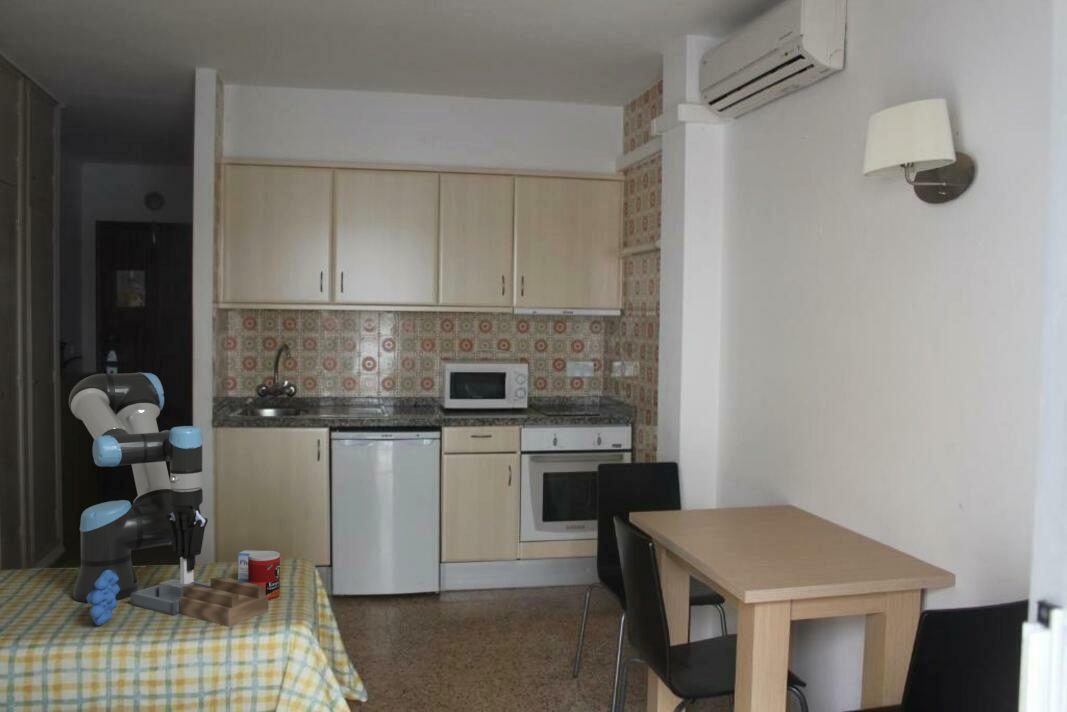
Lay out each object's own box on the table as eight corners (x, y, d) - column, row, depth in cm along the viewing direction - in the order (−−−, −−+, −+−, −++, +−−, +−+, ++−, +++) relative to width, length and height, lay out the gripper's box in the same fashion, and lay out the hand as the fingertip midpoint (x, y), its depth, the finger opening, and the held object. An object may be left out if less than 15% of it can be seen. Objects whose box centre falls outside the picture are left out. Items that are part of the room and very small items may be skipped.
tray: (130, 604, 211) (130, 592, 211) (182, 589, 224) (182, 577, 224) (173, 615, 203) (173, 603, 203) (223, 598, 216) (223, 587, 216)
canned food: (271, 602, 214) (270, 559, 213) (242, 600, 215) (242, 557, 215) (285, 593, 221) (285, 551, 221) (257, 591, 223) (257, 549, 222)
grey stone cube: (169, 601, 212) (159, 598, 214) (183, 596, 216) (172, 594, 218) (169, 585, 212) (159, 582, 214) (183, 581, 216) (172, 578, 218)
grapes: (97, 614, 204) (96, 564, 204) (126, 613, 204) (125, 564, 204) (74, 631, 192) (74, 578, 192) (105, 630, 193) (104, 578, 192)
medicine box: (237, 584, 228) (237, 553, 228) (246, 580, 233) (246, 548, 232) (264, 587, 227) (263, 554, 226) (272, 582, 231) (272, 550, 231)
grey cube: (169, 601, 212) (169, 585, 212) (183, 596, 216) (183, 581, 216) (180, 603, 210) (180, 587, 210) (193, 599, 214) (193, 583, 214)
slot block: (179, 614, 204) (179, 587, 204) (220, 600, 215) (220, 575, 214) (228, 626, 196) (228, 598, 196) (268, 611, 206) (268, 585, 206)
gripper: (156, 488, 211) (156, 582, 212) (191, 493, 205) (191, 590, 205) (181, 484, 218) (182, 575, 218) (216, 488, 211) (217, 582, 212)
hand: (187, 582), depth 212 cm, fingers closed
